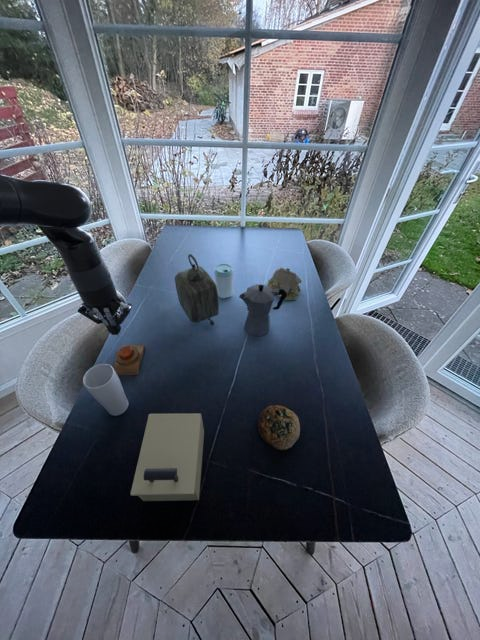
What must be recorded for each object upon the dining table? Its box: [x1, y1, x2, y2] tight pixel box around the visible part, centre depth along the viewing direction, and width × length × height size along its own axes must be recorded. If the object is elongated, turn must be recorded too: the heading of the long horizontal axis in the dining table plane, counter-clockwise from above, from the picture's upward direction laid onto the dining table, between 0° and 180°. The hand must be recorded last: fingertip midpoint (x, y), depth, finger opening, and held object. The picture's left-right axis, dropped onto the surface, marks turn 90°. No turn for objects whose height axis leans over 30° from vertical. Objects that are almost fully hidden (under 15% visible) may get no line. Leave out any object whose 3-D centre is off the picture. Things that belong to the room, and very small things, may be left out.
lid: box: [129, 413, 202, 497], centre depth 52 cm, size 15×12×5 cm
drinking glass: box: [82, 363, 130, 417], centre depth 65 cm, size 7×7×15 cm
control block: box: [112, 344, 146, 376], centre depth 79 cm, size 10×7×4 cm
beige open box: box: [138, 415, 205, 502], centre depth 58 cm, size 15×12×9 cm
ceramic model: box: [267, 267, 303, 301], centre depth 103 cm, size 14×11×10 cm
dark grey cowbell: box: [174, 253, 220, 326], centre depth 85 cm, size 14×9×25 cm, turn 31°
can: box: [213, 263, 234, 299], centre depth 100 cm, size 7×7×12 cm
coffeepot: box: [238, 283, 287, 337], centre depth 86 cm, size 15×9×18 cm, turn 101°
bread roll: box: [256, 404, 301, 451], centre depth 66 cm, size 11×11×5 cm
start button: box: [119, 347, 134, 360], centre depth 78 cm, size 4×4×2 cm
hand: (116, 332), depth 71 cm, fingers closed
